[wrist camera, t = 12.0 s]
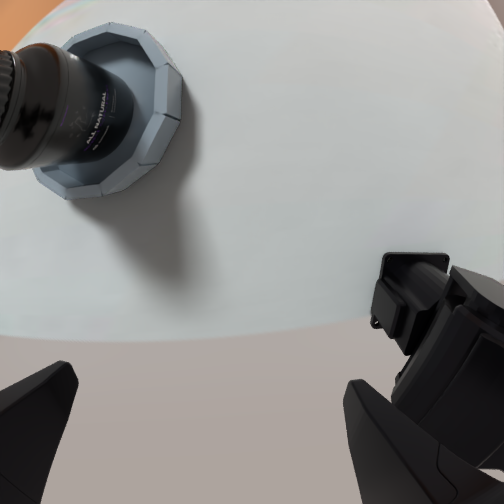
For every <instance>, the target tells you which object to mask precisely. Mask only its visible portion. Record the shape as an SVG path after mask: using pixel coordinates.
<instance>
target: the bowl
mask: <svg viewBox="0 0 504 504" xmlns="http://www.w3.org/2000/svg"><path fill="white" fill-rule="evenodd" d="M61 49H64V50H66V51H68V52H70V53H72V54H75V55H77V56H79V57H81V58H83V59H85V60H87V61H89V62H91V63H94V64H96V65H98V66H100V67H102V68H104V69H106V70H108V71H109V72H111V73H113V74H115V75H117V76H118V77H120V78H121V79H123V80H124V81H125V82H126V84H127V85H128V87H129V89H130V91H131V93H132V97H133V103H134V111H133V118H132V122H131V125H130V128H129V130H128V133H127V135H126V136H125V138H124V140H123V141H122V143H121V144H120V145H119V146H118V147H117V149H116V150H115V151H113V152H112V153H111V154H110V155H108V156H107V157H105V158H103V159H101V160H99V161H95V162H91V163H81V164H68V165H57V166H47V167H38V168H32V169H33V171H34V174H35V176H36V178H37V180H39V182H40V183H41V184H43V185H44V186H45V187H47V188H48V189H50V190H51V191H53V192H54V193H56V194H57V195H59V196H60V197H62V198H63V199H66V200H71V199H80V198H90V197H101V196H105V195H108V194H112V193H115V192H119V191H123V190H125V189H126V188H127V187H129V186H130V185H131V184H132V183H134V182H135V181H136V180H138V179H139V178H140V177H142V176H143V175H144V174H146V173H147V172H148V171H150V170H151V169H152V168H154V167H155V166H157V163H159V162H160V160H161V158H162V156H163V154H164V152H165V150H166V148H167V146H168V144H169V142H170V140H171V139H172V137H173V135H174V133H175V131H176V129H177V127H178V126H179V124H180V122H179V121H177V120H181V95H182V77H181V74H180V72H179V71H178V69H177V67H176V66H175V64H174V63H173V61H172V60H171V58H170V57H169V55H168V54H167V52H166V51H165V49H164V48H163V46H162V45H161V44H160V43H159V42H158V41H157V40H156V39H155V38H154V37H153V36H152V35H151V34H150V33H149V32H148V31H146V30H144V29H140V28H136V27H132V26H128V25H123V24H119V23H114V22H111V23H110V22H109V23H106V24H103V25H100V26H98V27H95V28H92V29H90V30H87V31H85V32H82V33H80V34H77V35H75V36H74V38H73V37H72V38H71V39H70V40H69V41H68V42H66V43H65V44H64V45H63V46H62V47H61Z"/></svg>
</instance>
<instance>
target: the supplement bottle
mask: <svg viewBox="0 0 504 504" xmlns="http://www.w3.org/2000/svg"><path fill="white" fill-rule="evenodd" d="M133 111H134V103H133V97H132V93H131V91H130V89H129V87H128V85H127V84H126V82H125V81H124V80H123V79H121V78H120V77H118V76H117V75H115V74H113V73H111V72H109V71H108V70H106V69H104V68H102V67H100V66H98V65H96V64H94V63H91V62H89V61H87V60H85V59H83V58H81V57H79V56H77V55H75V54H72V53H70V52H68V51H66V50H64V49H61V48H59V47H57V46H54V45H51V44H48V43H35V44H31V45H28V46H26V47H24V48H22V49H20V50H18V51H17V52H15V53H14V52H10V51H6V50H4V51H1V50H0V169H3V170H7V171H10V170H22V169H30V168H38V167H47V166H57V165H68V164H81V163H91V162H95V161H99V160H101V159H103V158H105V157H107V156H108V155H110V154H111V153H112V152H113V151H115V150H116V149H117V147H118V146H119V145H120V144H121V143H122V141H123V140H124V138H125V136H126V135H127V133H128V130H129V128H130V125H131V122H132V118H133Z"/></svg>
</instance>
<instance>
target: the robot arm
mask: <svg viewBox="0 0 504 504" xmlns="http://www.w3.org/2000/svg"><path fill="white" fill-rule="evenodd" d="M389 257H391V260H390V261H389V262H387V260H388V258H389ZM444 258H445V260H444V261H443V259H444ZM449 260H450V258H449V256H448V255H447V254H446V253H413V252H387V253H385V254H384V256H383V258H382V264H381V270H380V276H379V279H378V280H377V282H376V287H375V292H374V297H373V302H372V307H371V310H372V311H373V312H372V317H371V321H370V324H371V326H372V327H373V328H374V329H380V328H383V329H384V331H385V332H386V334H387V335H388V337H389V338H390V339H395V341H396V342H397V344H398V345H399V347H400V349H401V350H402V352H403V354H404V355H405V356H409V355H411V356H410V357H409V359H408V361H407V362H406V364H405V366H404V367H403V369H402V371H401V372H399V373H398V374H397V376H396V378H395V387H394V389H393V392H392V395H391V401H392V403H390V402H389V401H388V400H387V399H386V398H384V397H383V396H382V395H381V394H380V393H379V392H377V391H376V390H375V389H374V388H373V387H371V386H370V385H369V384H368V383H367V382H366V381H364V380H362V379H357V380H351V381H349V383H348V385H347V389H346V392H345V395H344V399H343V407H344V414H345V421H346V429H347V437H348V444H349V449H350V453H351V457H352V461H353V465H354V469H355V473H356V477H357V481H358V486H359V490H360V494H361V499H362V503H363V504H504V482H501V481H499V480H497V479H495V478H493V477H491V476H489V475H487V474H486V473H484V472H482V471H480V470H479V469H492V470H495V469H497V470H500V471H502V472H504V285H502V284H501V283H499V282H497V281H496V280H494V279H492V278H490V277H487V276H484V275H481V274H478V273H475V272H472V271H469V270H466V269H463V268H460V267H457V266H453V265H452V267H451V270H450V273H449V274H450V276H448V275H447V270H448V265H449ZM377 321H378V323H376V324H375V322H377ZM78 384H79V382H78V378H77V376H76V374H75V372H74V370H73V368H72V365H71V364H70V363H69V362H65V361H57V362H56V363H54V364H52V365H50V366H48V367H46V368H44V369H42V370H40V371H38V372H36V373H34V374H33V375H30V376H29V377H26V378H25V379H23V380H21V381H19V382H17V383H15V384H13V385H11V386H9V387H7V388H5V389H3V390H1V391H0V504H40V503H41V499H42V495H43V492H44V488H45V485H46V482H47V478H48V475H49V472H50V468H51V465H52V462H53V460H54V457H55V454H56V451H57V448H58V445H59V443H60V440H61V437H62V434H63V432H64V429H65V427H66V424H67V421H68V418H69V415H70V412H71V408H72V404H73V401H74V398H75V395H76V392H77V389H78Z"/></svg>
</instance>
